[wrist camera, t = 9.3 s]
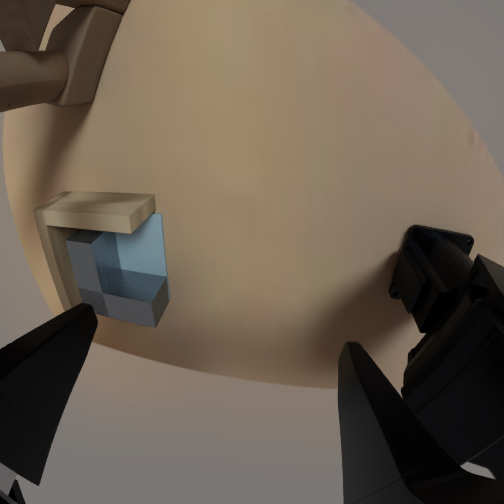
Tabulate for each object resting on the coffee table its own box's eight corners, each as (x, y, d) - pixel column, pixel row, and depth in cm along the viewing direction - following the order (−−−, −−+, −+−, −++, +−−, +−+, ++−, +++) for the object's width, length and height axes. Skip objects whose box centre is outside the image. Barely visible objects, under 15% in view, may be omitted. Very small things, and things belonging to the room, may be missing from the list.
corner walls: (154, 194, 20) (128, 216, 16) (166, 306, 25) (151, 338, 22) (63, 191, 20) (33, 210, 17) (86, 290, 26) (66, 315, 22)
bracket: (103, 287, 25) (85, 310, 22) (89, 220, 21) (65, 240, 18) (169, 300, 24) (155, 327, 21) (162, 228, 21) (143, 251, 18)
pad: (161, 213, 20) (160, 214, 20) (170, 298, 24) (169, 299, 24) (79, 208, 21) (78, 209, 21) (96, 284, 25) (95, 286, 25)
